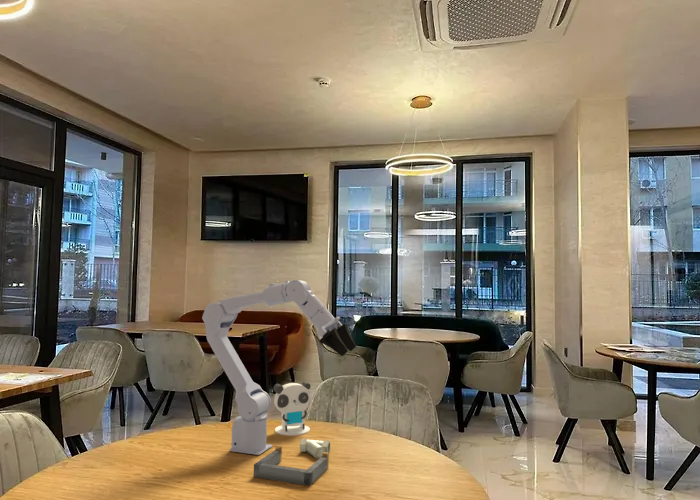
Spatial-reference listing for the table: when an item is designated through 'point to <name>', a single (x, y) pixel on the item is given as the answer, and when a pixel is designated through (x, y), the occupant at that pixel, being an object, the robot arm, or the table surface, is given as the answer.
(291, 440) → the table surface
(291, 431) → the panda figurine
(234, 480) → the table surface
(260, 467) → the grey u-shaped frame
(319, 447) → the pipe fitting
